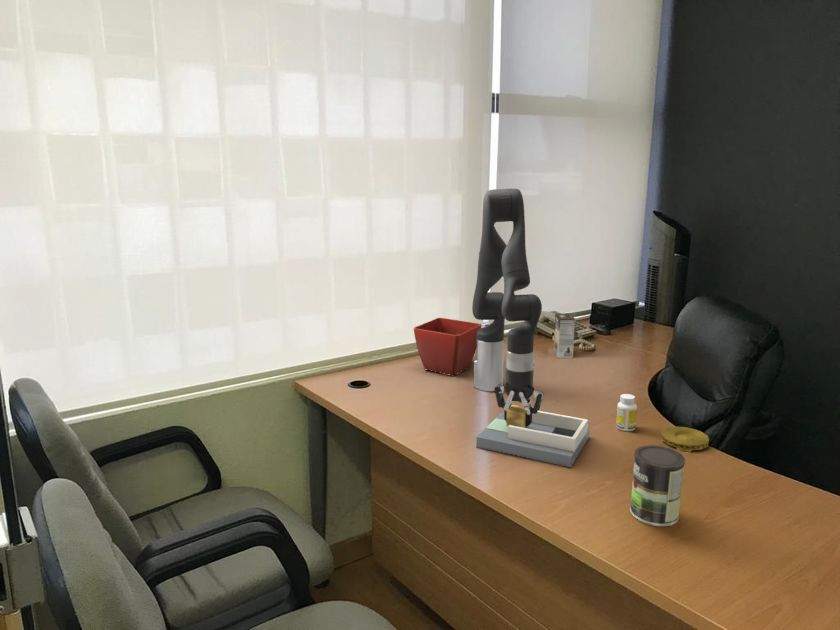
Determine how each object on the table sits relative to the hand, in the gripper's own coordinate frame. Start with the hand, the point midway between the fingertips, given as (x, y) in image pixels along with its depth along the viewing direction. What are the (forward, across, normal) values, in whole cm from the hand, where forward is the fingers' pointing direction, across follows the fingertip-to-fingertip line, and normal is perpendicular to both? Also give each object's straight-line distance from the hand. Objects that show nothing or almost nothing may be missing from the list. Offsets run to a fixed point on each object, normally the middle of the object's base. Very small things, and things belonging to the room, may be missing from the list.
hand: (517, 423), depth 176 cm
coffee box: (+5, -8, +82) cm, 82 cm away
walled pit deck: (+4, +5, 0) cm, 7 cm away
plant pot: (+5, -43, +46) cm, 63 cm away
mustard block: (0, 0, 0) cm, 0 cm away
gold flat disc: (+5, +42, +18) cm, 46 cm away
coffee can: (+4, +40, -24) cm, 46 cm away
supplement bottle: (+5, +26, +20) cm, 33 cm away
